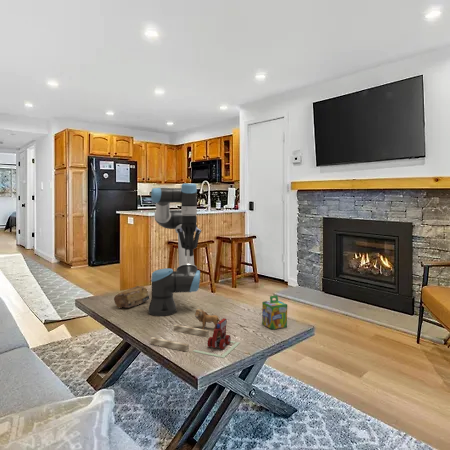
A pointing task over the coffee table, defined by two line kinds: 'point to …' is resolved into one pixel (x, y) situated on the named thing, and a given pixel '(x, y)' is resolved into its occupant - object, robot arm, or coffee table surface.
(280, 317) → the chalk box
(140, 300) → the petrified wood
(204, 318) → the lion figurine
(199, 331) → the lane walls
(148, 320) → the coffee table surface
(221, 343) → the toy fire truck
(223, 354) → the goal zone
